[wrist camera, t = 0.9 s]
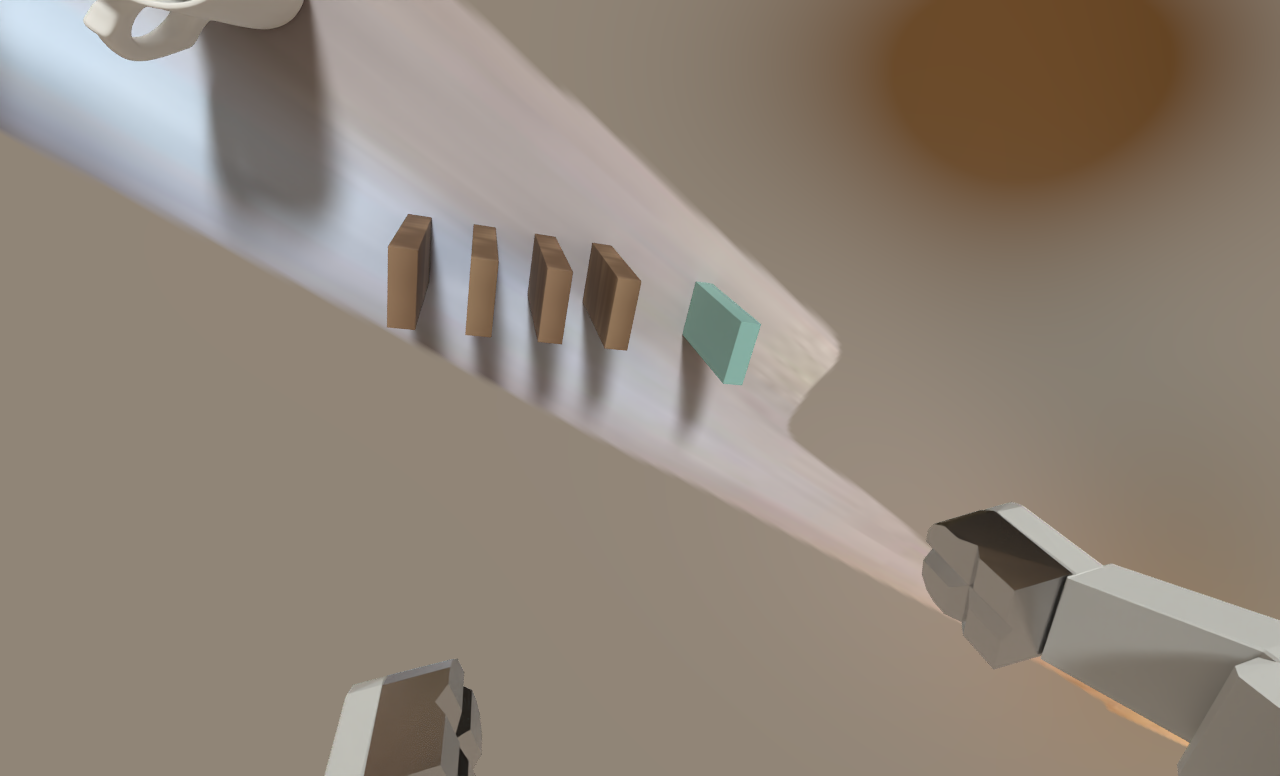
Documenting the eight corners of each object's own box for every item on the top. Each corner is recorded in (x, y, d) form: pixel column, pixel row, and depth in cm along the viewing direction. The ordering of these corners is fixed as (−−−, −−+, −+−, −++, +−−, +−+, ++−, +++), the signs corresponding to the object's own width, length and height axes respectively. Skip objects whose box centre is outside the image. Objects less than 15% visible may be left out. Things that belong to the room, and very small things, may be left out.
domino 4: (582, 301, 47) (604, 348, 38) (592, 242, 45) (618, 278, 36) (601, 303, 47) (626, 350, 39) (611, 245, 45) (641, 281, 37)
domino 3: (527, 294, 45) (537, 341, 37) (535, 233, 43) (547, 268, 35) (546, 297, 46) (561, 344, 37) (555, 236, 44) (572, 272, 35)
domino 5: (682, 334, 50) (723, 383, 42) (695, 281, 48) (741, 321, 40) (698, 336, 51) (741, 385, 42) (712, 283, 49) (761, 324, 40)
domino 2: (468, 287, 44) (465, 335, 35) (473, 224, 42) (471, 257, 33) (489, 290, 44) (491, 337, 36) (495, 227, 42) (498, 261, 34)
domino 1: (406, 280, 42) (387, 327, 34) (408, 213, 40) (388, 246, 32) (428, 282, 43) (415, 329, 34) (431, 217, 41) (417, 250, 32)
